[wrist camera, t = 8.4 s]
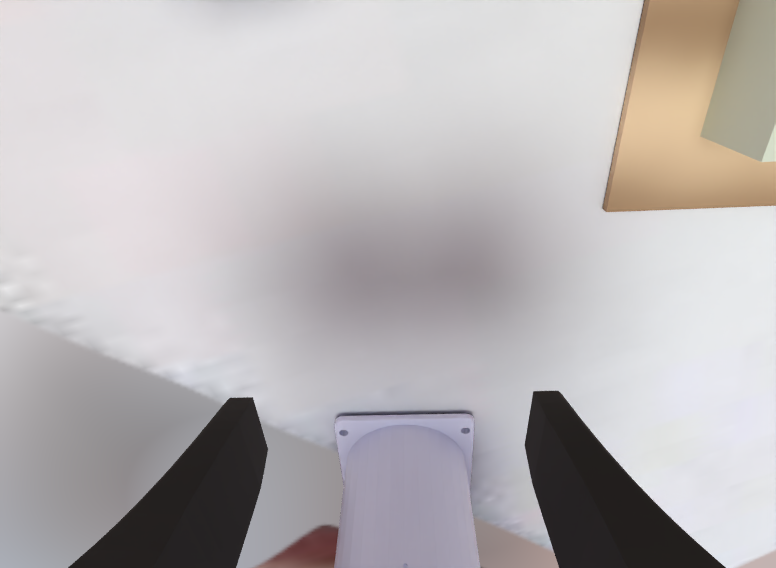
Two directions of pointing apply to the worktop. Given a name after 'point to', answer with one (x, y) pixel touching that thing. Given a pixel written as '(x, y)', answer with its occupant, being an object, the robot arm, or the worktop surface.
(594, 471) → the robot arm
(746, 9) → the sage block
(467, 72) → the worktop surface
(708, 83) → the cork mat
